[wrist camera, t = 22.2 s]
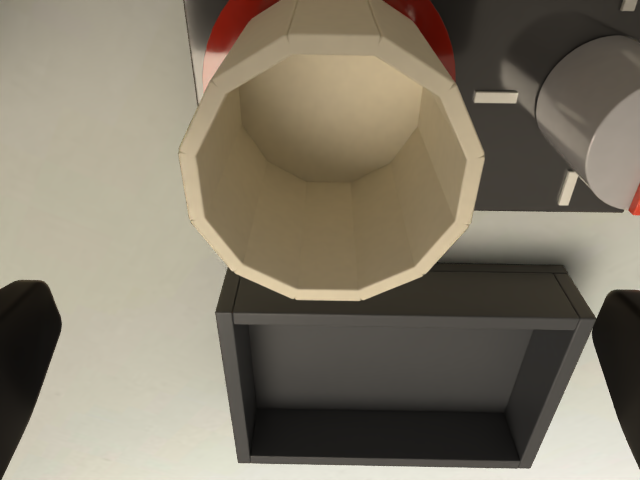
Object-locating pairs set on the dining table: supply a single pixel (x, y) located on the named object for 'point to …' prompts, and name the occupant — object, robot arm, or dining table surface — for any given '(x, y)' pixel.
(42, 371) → the robot arm
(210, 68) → the burner
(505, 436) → the sink
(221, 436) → the dining table surface
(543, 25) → the hob
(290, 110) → the pot
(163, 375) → the dining table surface
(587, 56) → the knob
